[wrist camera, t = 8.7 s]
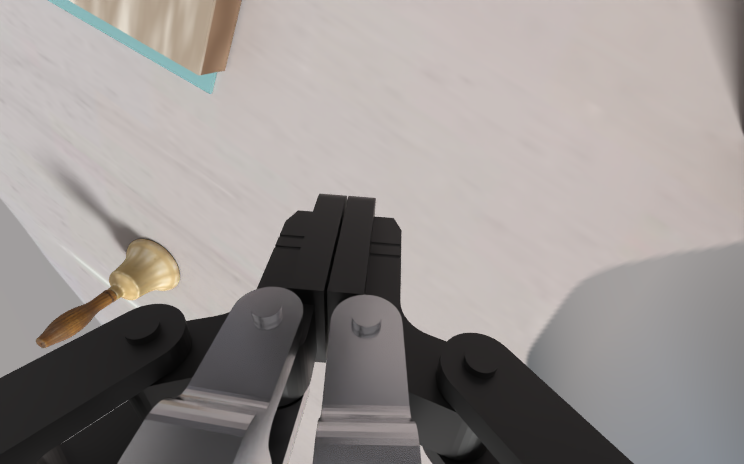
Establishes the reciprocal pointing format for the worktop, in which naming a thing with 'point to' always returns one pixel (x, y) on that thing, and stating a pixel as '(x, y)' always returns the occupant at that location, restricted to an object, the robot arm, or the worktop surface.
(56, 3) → the mat
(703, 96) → the worktop surface
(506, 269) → the worktop surface
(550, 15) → the worktop surface
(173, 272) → the hand bell
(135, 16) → the block
